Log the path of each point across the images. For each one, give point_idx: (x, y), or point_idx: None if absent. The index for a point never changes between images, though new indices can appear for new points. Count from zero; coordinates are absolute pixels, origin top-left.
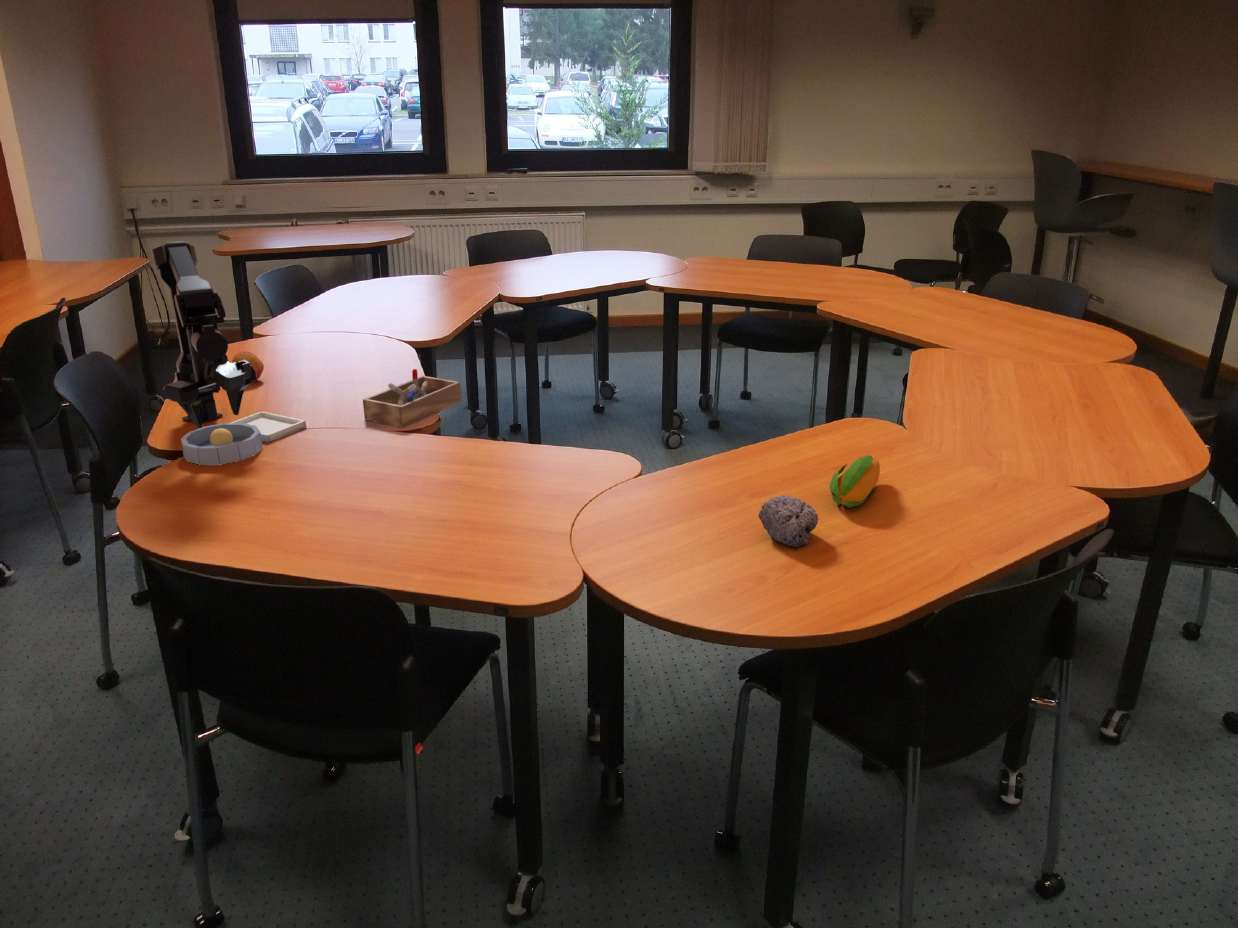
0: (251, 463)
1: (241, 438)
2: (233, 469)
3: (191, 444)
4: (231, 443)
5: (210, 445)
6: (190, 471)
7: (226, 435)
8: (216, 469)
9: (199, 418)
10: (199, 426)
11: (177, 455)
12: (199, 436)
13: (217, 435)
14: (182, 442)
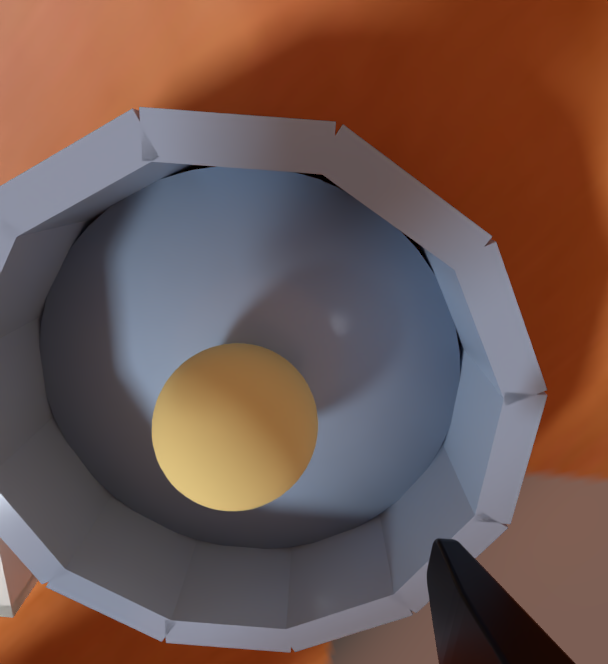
0: (331, 17)
1: (64, 411)
2: (481, 57)
3: (486, 485)
4: None
5: None
6: (591, 318)
7: (234, 378)
8: (516, 184)
9: (519, 640)
10: (469, 558)
11: None
12: (245, 587)
13: (289, 426)
14: None
